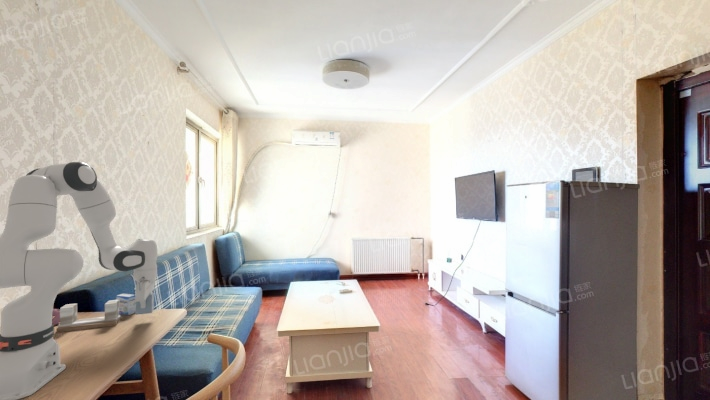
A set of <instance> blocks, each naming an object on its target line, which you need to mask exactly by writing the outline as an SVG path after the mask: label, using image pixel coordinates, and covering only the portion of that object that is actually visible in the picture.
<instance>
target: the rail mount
mask: <svg viewBox="0 0 710 400" xmlns="http://www.w3.org/2000/svg"><path fill="white" fill-rule="evenodd" d="M121 320H122V315H121V314H119V300H116V299H112V300H111V299H110V300H107V302H105V303H104V316H99V317H98V316H96V317H88V318H79V319H78V303H69V304H68V303H67V304H65V305H63V306H61V307H60V322H59V323H58V324H57V328H56V330H55V331H56V333H60V332H71V331H78V330H87V329H96V328H97V329H98V328H103V327H105V328H106V327H111V326H112V327H113V326H117V325H118V324H119V323H120V321H121Z"/></svg>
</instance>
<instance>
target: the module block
mask: <svg viewBox="0 0 710 400" xmlns="http://www.w3.org/2000/svg"><path fill="white" fill-rule="evenodd" d="M154 310H155V292H153V291H152V292H150V293H149V296H148V297H147V298H146V307H145V308H141V304H140V301H139V302H136V312H135V315H136V316H137V315H146V314H152V313H153V312H154Z"/></svg>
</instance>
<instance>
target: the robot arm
mask: <svg viewBox="0 0 710 400" xmlns="http://www.w3.org/2000/svg"><path fill="white" fill-rule="evenodd" d="M66 195H69V196H70V197H72V199H73V201H74V204H75V206H76V208H77V210H78V212H79V214H80V216H81V217H82V219H83V220H84V222H85V223H86V225H87V227H88V228H89V232H90V233H91V236H92V238H93V241H94V242H95V244H96V247H97V250H98V263H99V265H100V266H101V267H102V268H104V269H106V270H108V271H109V270H111V271H115V272H116V271H117V272H121V273H122V272H130V271H133V281H134V282H135V281H136V284H135V292H134V295H135V301H136V302H139V301H140V304H141V308H145V307H146V298H147V297H148V296H149V293H150V292H152V293H153V291H154V289H155V286H156V279H157V278H158V263H157V260H158V244H157V242H156V241H155V240H152V239H145V238H138V239H136V240H135V241H134V242H132V243H131V244H129V245H127V246H125V247H121V246H120V245H118V244H117V242H116V240H115V237H114V235H113V233H112V230H111V228H110V226H111V225H110V224H111V222H112V221H113V220H114V219H115V217H116V215H117V211H116V207H115V204H114V201H113V199H112V198H111V195H110V193H109V192H108V190H107V188H106V187H105V186H104V184H103V183H102V182H101V181H100V179H99V178H98V176H97V173H96V171H95V170H94V168H93V167H92V166H91V165H89V164H88V163H85V162H82V161H81V162H80V161H71V162H67V163H60V164H51V165H46V166H44V167H42V168H36V169H33V170H30V171H29V172H28V173H27V174H26V175H22V176H20V177H18V178H17V179H16V180H15V182H14V184H13V187H12V189H11V192H10V196H9V201H8V207H7V215H6V221H5V226H4V229H3V232H2V234H1V235H0V289H6V288H7V289H8V288H17V287H26V286H27V287H30V291H29V292H27V293H26V294H24V295H22V296H19V297H17V298H15V299H12V300H11V301H9V302H8V303H7V304H5V306H4V307H3V308H2V309H1V312H0V400H20V399H23V398H27V397H28V396H31V395H33V394H35V393H36V392H37V391H38V390H40V389H41V388H42V387H43V386H45V385H46V384H47V383H49V382H50V381H51V380H53V379H54V378H56V376H57V375H59V374H60V373H62V372H63V371H64V370H66V369H67V367H66V364H64V363H61V352H60V343H59V342H57V341H56V340H55V339H54V336H55V335H54V334H55V333H54V332H55V326H54V325H53V324H52V312H53V309H54V303H55V301H56V298H57V295H58V294H59V292H60V291H61V290H62V289H63V288H64V287H65V286H66V285H67V284H68V283H69V282H71V281H72V280H73V279H76V278H77V277H78V276H79V275H80V274H81V271H82V270H83V268H84V259H83V256H82V255H81V253H80V252H78V251H77V250H76V249H69V248H57V247H56V248H44V249H43V248H42V249H28V248H29V246H30V245H32V244H33V243H34V242H36V241H38V240H42V239H44V238H47V237H48V236H50V235H51V234H53V233H54V231H55V229H56V225H57V210H58V209H57V208H58V204H57V203H58V200H57V199H58V198H57V197H59V196H66ZM57 377H58V376H57Z"/></svg>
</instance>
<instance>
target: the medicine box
mask: <svg viewBox="0 0 710 400" xmlns="http://www.w3.org/2000/svg"><path fill="white" fill-rule="evenodd" d="M115 300H119V315H125V316H130V315H132V314H133V315H134V314H136V301H135V294H130V293H120V294H117V295H116V296H115Z"/></svg>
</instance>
